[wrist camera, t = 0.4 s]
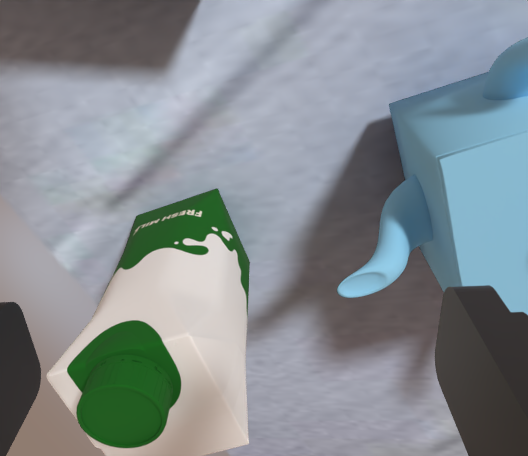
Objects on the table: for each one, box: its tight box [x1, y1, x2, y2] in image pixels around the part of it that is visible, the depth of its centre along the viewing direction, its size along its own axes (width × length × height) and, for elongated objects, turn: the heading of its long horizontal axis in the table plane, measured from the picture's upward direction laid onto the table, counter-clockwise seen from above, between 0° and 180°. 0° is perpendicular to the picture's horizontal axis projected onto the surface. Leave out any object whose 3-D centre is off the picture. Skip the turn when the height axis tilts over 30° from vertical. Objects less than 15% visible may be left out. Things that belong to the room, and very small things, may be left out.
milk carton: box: [47, 189, 250, 456], centre depth 32 cm, size 9×9×20 cm
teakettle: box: [337, 37, 528, 315], centre depth 31 cm, size 19×19×15 cm
